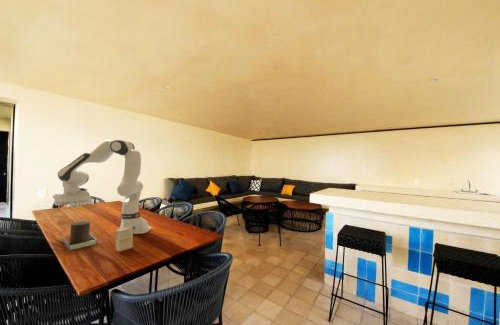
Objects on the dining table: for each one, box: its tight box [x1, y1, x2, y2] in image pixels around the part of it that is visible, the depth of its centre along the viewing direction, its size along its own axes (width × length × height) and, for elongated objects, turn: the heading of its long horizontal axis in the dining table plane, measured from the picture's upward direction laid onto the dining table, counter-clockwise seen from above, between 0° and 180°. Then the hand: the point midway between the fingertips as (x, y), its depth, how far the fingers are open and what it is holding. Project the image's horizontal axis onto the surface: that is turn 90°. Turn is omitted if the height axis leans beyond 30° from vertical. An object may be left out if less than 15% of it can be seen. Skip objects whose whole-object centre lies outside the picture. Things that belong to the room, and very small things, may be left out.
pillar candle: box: [69, 220, 91, 245], centre depth 131 cm, size 10×10×15 cm
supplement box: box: [115, 226, 134, 253], centre depth 126 cm, size 8×5×13 cm, turn 141°
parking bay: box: [61, 233, 98, 251], centre depth 133 cm, size 20×14×2 cm
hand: (74, 207), depth 145 cm, fingers closed
